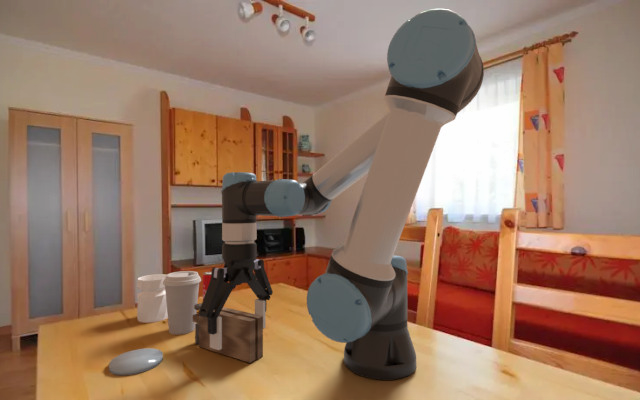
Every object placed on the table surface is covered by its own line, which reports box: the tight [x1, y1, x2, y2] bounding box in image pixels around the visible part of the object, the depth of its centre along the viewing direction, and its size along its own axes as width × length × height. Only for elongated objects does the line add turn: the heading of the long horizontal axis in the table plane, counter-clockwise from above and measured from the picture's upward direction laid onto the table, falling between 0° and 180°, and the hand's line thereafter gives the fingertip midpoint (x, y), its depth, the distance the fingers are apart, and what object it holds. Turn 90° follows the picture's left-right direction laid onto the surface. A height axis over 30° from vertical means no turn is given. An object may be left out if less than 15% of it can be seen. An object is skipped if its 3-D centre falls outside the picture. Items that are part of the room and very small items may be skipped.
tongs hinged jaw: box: [193, 309, 256, 364], centre depth 76 cm, size 19×2×9 cm, turn 59°
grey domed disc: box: [108, 347, 164, 376], centre depth 71 cm, size 10×10×1 cm
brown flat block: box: [194, 302, 264, 360], centre depth 78 cm, size 19×4×9 cm, turn 59°
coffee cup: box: [163, 270, 202, 336], centre depth 90 cm, size 10×10×15 cm
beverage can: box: [202, 270, 212, 300], centre depth 106 cm, size 5×5×12 cm
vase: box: [136, 273, 168, 324], centre depth 100 cm, size 9×9×12 cm
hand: (239, 337), depth 75 cm, fingers open, 13 cm apart
